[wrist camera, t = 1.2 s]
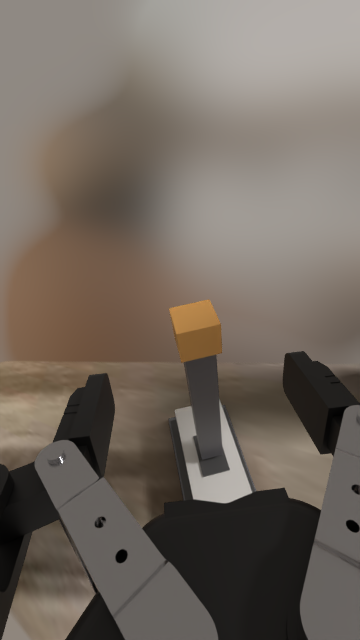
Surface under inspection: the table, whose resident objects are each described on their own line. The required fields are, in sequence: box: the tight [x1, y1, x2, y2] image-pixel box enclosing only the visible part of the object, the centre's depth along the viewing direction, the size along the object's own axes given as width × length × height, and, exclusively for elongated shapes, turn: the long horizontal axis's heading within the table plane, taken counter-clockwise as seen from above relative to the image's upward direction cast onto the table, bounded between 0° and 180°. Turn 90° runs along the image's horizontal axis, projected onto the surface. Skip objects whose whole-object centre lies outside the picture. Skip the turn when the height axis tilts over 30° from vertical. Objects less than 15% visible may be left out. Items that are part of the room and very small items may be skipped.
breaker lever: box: [169, 300, 223, 460], centre depth 29 cm, size 3×3×21 cm
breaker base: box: [169, 400, 256, 503], centre depth 38 cm, size 18×9×6 cm, turn 11°
